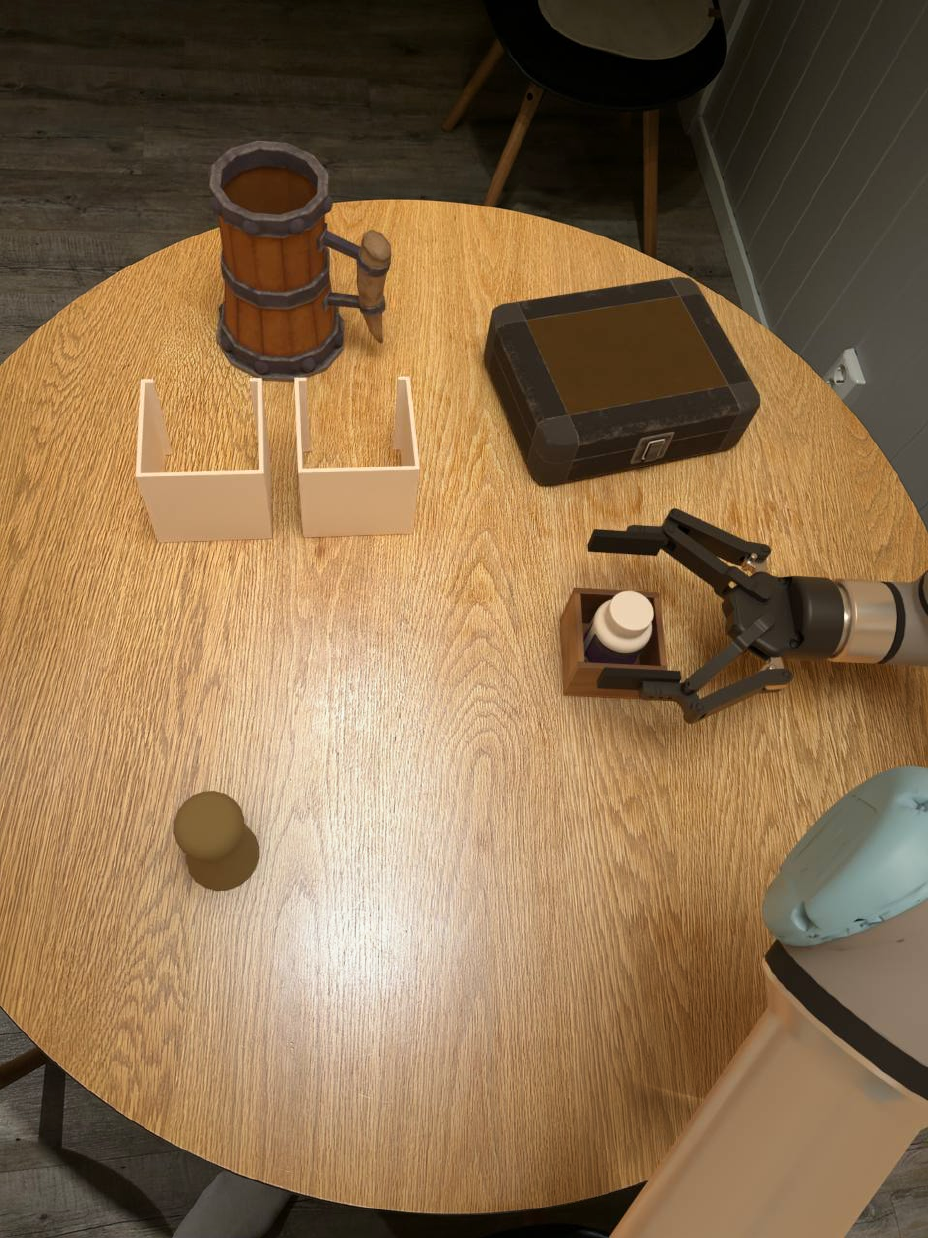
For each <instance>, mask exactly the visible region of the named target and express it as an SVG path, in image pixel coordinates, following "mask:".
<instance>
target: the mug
mask: <svg viewBox="0 0 928 1238" xmlns="http://www.w3.org/2000/svg"><path fill="white" fill-rule="evenodd" d="M329 175H330V174H329V171H328V170H327V168H326V167H325V166H323V165H322V164H321V162H320V161H319V160H318V159H317V157H316V156H315V155H314V154H312V153H310V152H308V151H306V150H303V149H301V148H299V147H297V146H295V145H292V144H290V143H288V142H278V141H266V140H256V141H251V142H249V143H245V144H242V145H238V146H234V147H231V148H229V149H228V150H227V151H226V152H225V153H224V154H222V155H221V156H220V157H219V158H218V159H217V160H216V161H215V162H213V164H211V167H210V168H209V170H208V172H207V178H208V180H209V185H208V188H209V195H210V202H209V208H210V210H211V212H212V213H213V214H214V215H216V216H217V219H218V220H217V221H218V227H219V234H220V241H221V255H220V263H219V264H220V269H221V277H222V279H223V281H224V283H223V284H224V300H223V301H222V303H220V304H219V306H218V313H219V314H218V321H217V322H218V323H217V330H216V343H217V345H218V346H219V348H220V349H221V351H222V352H223V354H224V356H225V357H226V359H227V361H228V362H229V364H230V366H232V367H234V368H236V369H237V370H240V371H242V372H244V373H246V374H248V375H250V376H251V377H252V378H262V381H266V382H284V383H285V382H287V383H289V382H290V383H295V380H294V378H306V379H308V378H310V377H313V376H315V375H318V374H321V373H323V372H326V371H327V370H328V369H329V368H330V367H331V366H332V364H333V363H334V362H335V361H336V359H337V358H338V357H339V356H340V355H341V354H342V352H343V351H344V350H345V324H346V321H345V319H344V318H343V317H342V315H341V314H340V307H343V308H350V309H358V311H359V312H360V313H361V314H362V316H363V318H364V321H365V323H366V326H367V328H368V331H369V333H370V334H371V335H372V337H373V338H374V339H375V341H377V342H378V343H379V344H381V345H382V344H384V333H383V315H384V313H385V311H386V310H387V304H386V296H385V294H384V289H385V285H386V279H387V275H388V272H389V271H390V267H391V265H392V255H393V254H392V253H393V252H392V244H391V243H390V242H389V240H388V239H387V238H386V236H385V235H384V233H381V232H380V231H376V230H373V229H369V230H368V231H366V232H365V233H363V234H362V238H361V243H360V245H358V244H356V243H354V242H352V241H350V240H348V239H346V238H343V237H341V236H339V235H338V234H336V233H333V232H331V231H329V230H328V229H329V228H328V222H326V215H327V214H329V213H330V212H331V211H332V208H333V206H334V203H333V200H332V198H331V196H330V195H329V194H330V193H329V192H330V189H329V177H330V176H329ZM330 249H331V250H334V251H336V252H338V253H340V254H343V255H345V256H347V257H349V258H351V259H353V260H355V264H356V288H357V294H350V293H349V294H348V293H340V292H333V288H332V283H331V276H330V269H331V267H330V266H331V258H330V257H331V256H330V254H331V252H330Z"/></svg>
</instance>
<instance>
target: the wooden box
mask: <svg viewBox="0 0 928 1238" xmlns="http://www.w3.org/2000/svg"><path fill="white" fill-rule="evenodd" d="M623 591H627V590H624V589H609V588H605V589H604V588H591V587H590V588H589V587H573V588H572V590H571V593H570V595H569V598H568V600H567V602H566V605H565V606H564V609H563V611H562V613H561V616H560V618H559V631H560V651H561V669H562V670H561V671H562V690H563V696H565V697H566V696H568V697H588V698H589V697H590V698H591V697H592V698H613V699H632V700H642V699H641V698H639V694H638V690H621V689H600V688H597V679H598V677H599V675H600V674H601V672H602V670H603V669H604V667H609V668H629V669H649V670H668V669H669V668H668V659H667V651H666V641H665V640H666V639H665V633H664V631H665V630H664V622H663V614H662V603H661V595H660V592H658V591H641V590H633V591H634V592H637V593H640V594H642V595H643V596H645V597H646V598H647V599H648V600H649V602H650V603H651V605H652V608H653V613H654V615H653V620H652V622H651V623H652V633H651V636H650V639H649V641H648V642H647V644H646V645H645V647H644V648H643V650H642V651H641V653H640V654H639V656H638V658H637V659H636V661H635V662H634V664H633V665H631V664H611V663H591V662H585V660H584V644H583V637H584V635H585V633H586V631H587V629H588V627H589V625H590V623H591V621H592V619H593V617H594V615H595V613H596V611H597V610H598V608H599V607H600V606H601V605H602V604H603V603H605V602H606V601H609V600H611V599H612V598H613V597H614V596H615V595H617V594H618V593H620V592H623Z"/></svg>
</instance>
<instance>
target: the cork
mask: <svg viewBox="0 0 928 1238" xmlns="http://www.w3.org/2000/svg"><path fill="white" fill-rule="evenodd" d="M172 827H173V831H172V832H173V836H174V840H175V843H176V844H177V846H178V847H179V849H180V850H181V851H182V853H184V854H185V863H186V866H187V869H188V873H189V875H190V877H192V879H193V880H194V881H195V883H196V884H198V885H200V886H201V887H202V888H204V889H207V890H211V891H215V892H224V891H225V892H226V891H230V890H233V889H235V888H238V887H241V885H243V884H244V883H246V881H248V880H249V879H250V878H251V877H252V875H253V874H254V872H255V871H256V869H257V867H258V863H259V861H260V844H259V841H258V839H257V836H256V835H255V833H254V832H253V831H252V829H251V828H250V827H249V826H248V825H247V824H246V823H245V816H244V813H243V810H242V808H241V806H240V805H239V804H238V802H237V801H236V800H235V799H234V798H232V797H231V796H230V795H228V794H227V793H225V792H224V793H223V792H219V791H216V790H209V791H208V790H207V791H201V792H199V793H195V794H193V795H192V796H190V797H189V798H187V799H186V800H185V801H184V802H183V803H182V805H180V807H179V808H178V810H177V812H176V814H175V817H174V820H173V826H172Z"/></svg>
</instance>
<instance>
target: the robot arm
mask: <svg viewBox="0 0 928 1238" xmlns="http://www.w3.org/2000/svg"><path fill="white" fill-rule="evenodd" d="M586 547H587V553H599V554H600V553H601V554H615V555H632V556H648V557H657V556H658V554H659V553H660V551H661V550H662V551H663V552H665V553H666V554H667V555H669V556H670V557H671V558H673V560H675V561H677V562H678V563H679V564H680V565H682V566H683V567H684V568H685V569H687V570H689V571H690V572H691V573H692V574H694V575H695V576H697V577H698V578H699V579H701V580H702V581H704V583H706V584H708V585H709V586H710V587H711V588H712V589H713V592H714V593H715V594H716V595H717V596H718V597H719V598H721V599H722V600H723V601H722V603H721V610H722V614H723V616H724V619H725V622H724V623H725V624H724V631H725V635H726V636H729V638H730V639H731V640H732V641H730V642H729V644H727V645H726V646H725V647H724V648H722V649H721V650H720V651H718V653H716V654H715V655H714V656H713V657H712V658H710V659H709V660H708V661H707V662H706V663H704V664H703V665H702V666H701V667H699V669H697V670H696V671H694V673H692V674H691V675H690V676H689V677H686V678H685V680H684V681H682V671H681V670H670V669H669V670H649V669H629V668H609V667H604V669H603V670H602V672H601V674H600V675H599V677H598V679H597V688H600V689H621V690H638V694H639V698H641V699H640V700H643V701H650V702H651V701H652V702H653V701H654V702H655V701H656V702H673V703H675V704H677V705H678V706H679V707H680V709H681V712H682V713H683V715H682V719H683V721H684V722H685V723H686V724H687V725H694V724H696V723H699V722H701V721H702V720H704V719H705V720H706V719H707V718H709V717H712V716H714V715H716V714H718V713H720V712H722V711H725V710H726V709H728V708H731V707H733V706H735V705H737V704H740V703H741V702H744V701H746V700H748V699H750V698H752V697H755V696H756V695H759V694H773V693H774V694H775V693H776V694H777V693H779V692H781V690H783V689H784V688H785V687H786V686H787V685H788V684H789V683H790V682H791V681H792V680H793V678H794V674H793V673H792V670H790V669H788V668H785V665H784V662H783V659H786V660H790V661H805V662H807V661H809V662H825V661H826V660H827V661H829V662H834V663H851V664H852V663H853V664H874V665H895V666H911V667H912V666H913V667H923V668H925V667H926V668H928V569H926V570H925V571H924V572H923V573H922V574H921V575H920V576H919V577H918V578H917V579H916V580H914V581H910V582H907V581H906V582H905V581H904V582H903V581H883V580H881V581H880V580H872V579H857V578H842V577H835V578H832V579H830V578H829V577H823V576H822V577H821V576H809V575H808V576H807V575H806V576H805V575H788V576H775V575H774V574H772V573H771V574H770V573H769V572H768V561H767V559H768V557H769V556H770V555H771V553H772V549H771V547H770V546H769V545H768V544H767V543H766V544H765V543H760V542H753V541H748V540H745V539H743V538H741V537H739V536H736V535H735V534H733V533H730V532H728V531H726V530H724V529H722V528H721V527H720V528H719V527H717V526H716V525H713V524H712V523H709V522H707V521H704V520H703V519H700V518H699V517H696V516H695V515H692V514H689V513H688V512H686V511H684V510H681V509H679V508H678V507H677V508H676V507H673V508H671V509H670V510H669V511H668V512H667V515H666V517H665V519H664V520H663V522H662V524H661V525H646V524H645V525H643V524H640V525H639V524H631V525H628V526H627V527H626V530H617V529H616V530H615V529H600V528H593V530H592V533H591V535H590V538H589V539H588V542H587V544H586ZM726 562H727V563H729V564H732V565H729V564H727V563H726ZM737 566H738V567H737ZM739 567H741V569H740V568H739ZM747 571H748V572H750V573H751V575H748V574H747V573H745V572H747ZM730 583H732V584H735V585H734V586H733V587H731V586H730ZM747 652H748V653H750V654H752V655H753V656H756V658H758V659H759V660H761V661H763V662H765V663H766V664H764V665H763V666H762V667H761V668H760V669H759V670H758V672H755V673H753V674H751V675H749V676H747V677H744V678H742V679H739V680H738V681H736V682H733V683H731V684H729V685H727V686H725V687H722V688H720V689H718V690H716V691H713V692H711V693H710V694H707V695H705V696H703V697H701V698H700V696H699V695H698V693H699V692H700V691H702V690H703V688H705V687H706V686H707V685H709V684H710V683H711V682H713V680H714V679H716V678H717V677H718V676H719V675H720V674H722V673H723V672H724V671H725V670H726V669H727V668H729V667H730V666H731V665H732V664H734V663H735V662H737V660H739V659H740V658H741V657H742V656H744V655H745V654H747ZM760 911H761V912H760V913H761V919H762V922H763V924H764V925H765V927H766V928H767V929H768V930H769V935H772V937H773V938H774V939H775V940H774V941H773V943H772V945H770V947H769V949H768V950H767V951H766V953H765V954H764V957H763V958H762V960H761V966H762V971H763V975H764V976H763V977H764V980H765V981H764V982H765V987H766V990H767V995H768V1001H767V1007H766V1009H765V1010H764V1012H763V1013H762V1014H761V1016H760V1017H759V1019H758V1020H757V1022H756V1023H755V1025H754V1026H753V1028H752V1029H751V1031H750V1032H749V1034H748V1035H747V1036H746V1038H745V1039H744V1041H743V1042H742V1043H741V1044H740V1047H739V1048H738V1050H737V1051H736V1053H734V1055H733V1057H732V1058H731V1060H730V1061H729V1063H728V1064H727V1065H726V1067H725V1068H724V1070H723V1071H722V1073H721V1074H720V1075H719V1077H718V1079H717V1080H716V1081H715V1083H714V1084H713V1086H712V1087H711V1089H710V1090H709V1091H708V1093H707V1095H706V1096H705V1097H704V1099H703V1100H702V1101H701V1103H700V1105H698V1107H697V1109H696V1110H695V1112H694V1113H693V1115H692V1116H691V1118H690V1119H689V1120H688V1122H687V1123H686V1125H685V1126H684V1127H683V1129H682V1131H681V1132H680V1133H679V1135H678V1136H677V1138H676V1139H675V1141H674V1143H673V1144H672V1145H671V1147H670V1148H669V1149H668V1151H667V1152H666V1154H665V1155H664V1157H663V1158H662V1160H661V1161H660V1163H659V1164H658V1166H656V1169H654V1171H653V1173H652V1174H651V1176H650V1177H649V1178H648V1180H646V1181H647V1182H646V1183H645V1185H644V1186H643V1187H642V1189H641V1190H640V1191H639V1192H638V1194H637V1196H636V1198H635V1199H634V1201H633V1202H632V1203H631V1204H630V1206H629V1208H627V1211H626V1212H625V1213H624V1215H623V1216H622V1217H621V1219H620V1220H619V1222H618V1223H617V1225H616V1226H615V1228H614V1229H613V1231H612V1232H611V1234H610V1235H609V1237H608V1238H845V1237H846V1235H847V1234H849V1231H850V1230H851V1229H852V1227H853V1226H854V1224H855V1223H856V1222H857V1220H858V1219H859V1218H860V1216H861V1215H862V1213H863V1212H864V1211H865V1209H866V1208H867V1206H868V1205H869V1203H870V1202H871V1200H872V1199H873V1198H874V1197H875V1195H876V1194H877V1192H878V1191H879V1190H880V1189H881V1187H882V1185H883V1184H884V1182H885V1181H886V1179H888V1176H890V1174H891V1172H893V1170H894V1168H895V1167H896V1165H897V1164H898V1163H899V1161H900V1160H901V1158H902V1157H903V1156H904V1154H905V1153H906V1151H907V1150H908V1149H909V1147H910V1146H911V1144H912V1143H913V1141H914V1140H915V1139H916V1137H917V1136H918V1134H919V1133H920V1132H921V1131H922V1130H924V1129H926V1128H928V767H924V766H920V765H902V766H895V767H891V768H889V769H885V770H882V771H881V772H877V773H876V774H874V775H872V776H870V777H869V778H867V779H866V780H863V782H861V783H860V784H858V785H856V786H855V787H853V788H852V789H850V790H849V791H848V792H847V793H845V794H844V795H843V796H842V797H840V798H839V799H838V800H837V801H836V802H835V803H834V804H832V805H831V806H830V807H829V808H828V809H827V810H826V811H825V812H824V813H823V814H822V815H821V816H820V817H819V818H818V819H817V820H816V821H815V822H814V823H813V824H812V825H811V826H810V827H809V828H808V830H807V831H806V832H805V833H804V834H803V835H802V837H801V838H800V839H799V840H798V842H796V844H795V845H794V846H793V848H792V849H791V850H790V852H789V853H788V855H787V856H786V857H785V859H784V860H783V861H782V863H781V865H780V866H779V873H777V875H776V876H775V877H774V878H773V879H772V881H771V882H770V884H769V885H768V887H767V890H766V892H765V894H764V897H763V900H762V904H761V910H760Z"/></svg>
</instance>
